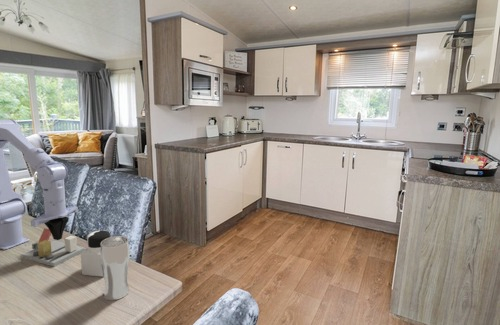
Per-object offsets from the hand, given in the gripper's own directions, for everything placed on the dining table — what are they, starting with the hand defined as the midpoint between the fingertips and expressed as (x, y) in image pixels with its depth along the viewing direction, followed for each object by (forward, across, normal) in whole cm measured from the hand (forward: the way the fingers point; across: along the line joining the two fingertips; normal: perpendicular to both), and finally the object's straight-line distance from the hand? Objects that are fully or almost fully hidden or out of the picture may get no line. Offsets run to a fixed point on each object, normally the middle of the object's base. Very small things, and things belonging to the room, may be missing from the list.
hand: (57, 239), depth 92 cm
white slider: (+3, +1, -5) cm, 6 cm away
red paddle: (+3, -2, +5) cm, 7 cm away
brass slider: (+4, -5, 0) cm, 6 cm away
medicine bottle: (+5, -2, -21) cm, 21 cm away
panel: (+5, -1, 0) cm, 5 cm away
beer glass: (+5, -10, -34) cm, 35 cm away
